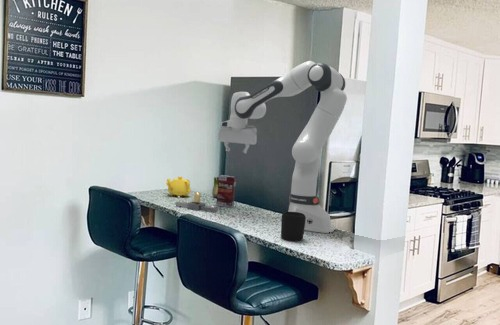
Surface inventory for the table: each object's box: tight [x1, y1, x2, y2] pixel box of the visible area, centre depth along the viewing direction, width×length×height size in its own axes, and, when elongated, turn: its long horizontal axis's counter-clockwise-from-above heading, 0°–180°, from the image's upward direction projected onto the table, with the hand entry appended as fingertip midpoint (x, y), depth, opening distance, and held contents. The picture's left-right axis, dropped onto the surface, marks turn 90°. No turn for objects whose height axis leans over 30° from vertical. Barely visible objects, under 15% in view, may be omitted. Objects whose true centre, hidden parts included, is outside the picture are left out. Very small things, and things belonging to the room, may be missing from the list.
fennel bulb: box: [212, 176, 219, 198], centre depth 284 cm, size 6×5×12 cm
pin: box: [193, 191, 202, 204], centre depth 243 cm, size 3×3×8 cm
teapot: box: [165, 176, 191, 197], centre depth 278 cm, size 14×14×11 cm
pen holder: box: [280, 211, 306, 242], centre depth 194 cm, size 9×9×10 cm
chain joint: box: [174, 200, 219, 214], centre depth 243 cm, size 22×6×3 cm, turn 65°
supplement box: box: [215, 174, 237, 208], centre depth 257 cm, size 9×5×16 cm, turn 76°
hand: (236, 152), depth 245 cm, fingers open, 8 cm apart
